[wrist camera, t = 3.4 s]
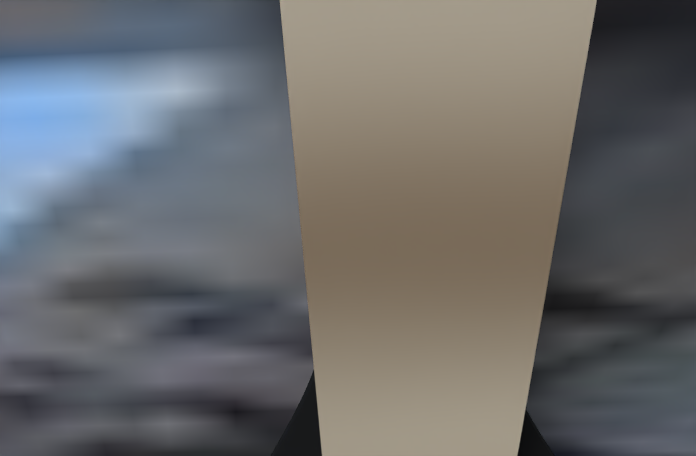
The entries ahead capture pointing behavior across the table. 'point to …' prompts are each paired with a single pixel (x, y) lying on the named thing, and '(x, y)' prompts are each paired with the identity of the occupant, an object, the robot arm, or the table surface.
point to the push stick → (429, 209)
